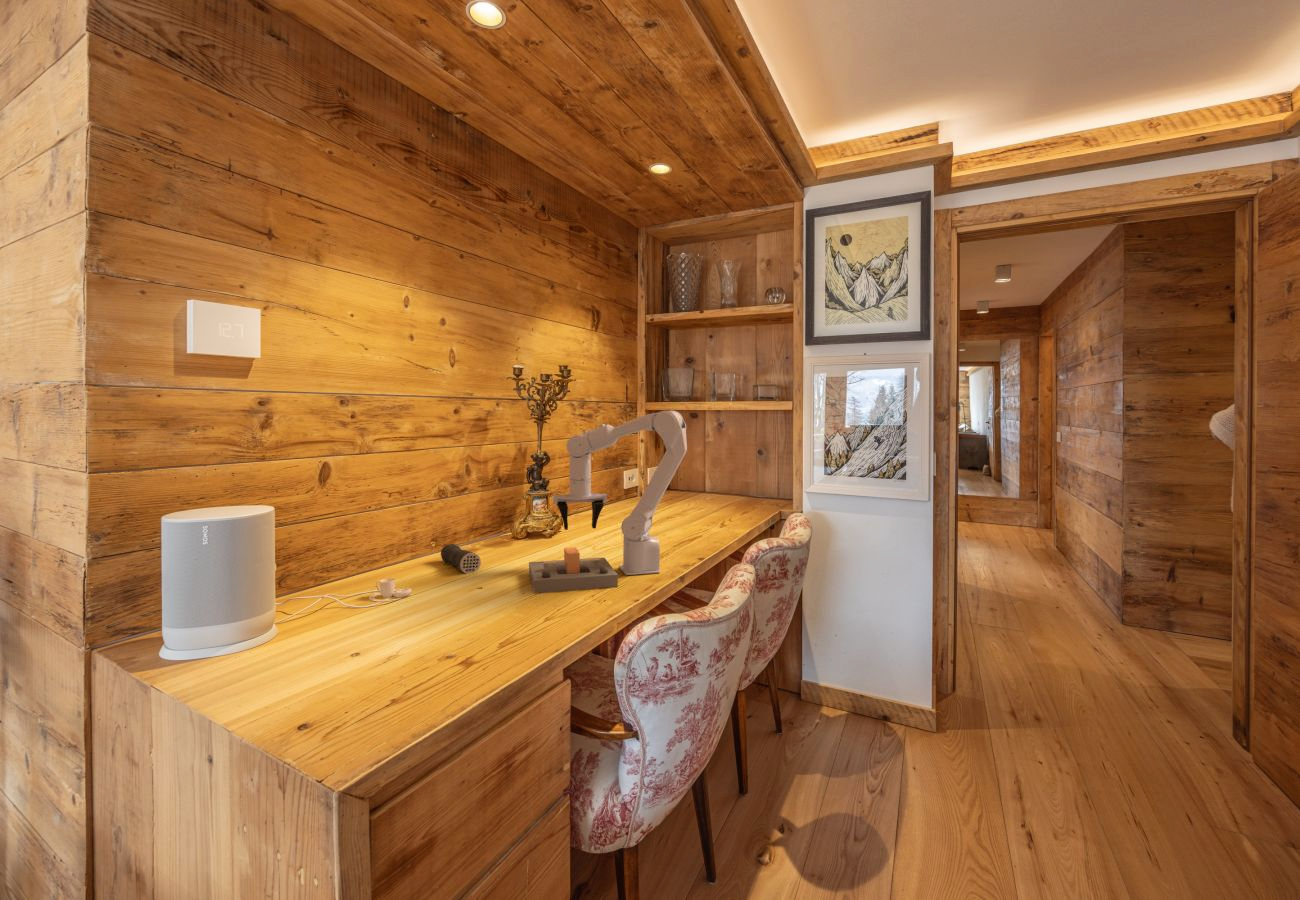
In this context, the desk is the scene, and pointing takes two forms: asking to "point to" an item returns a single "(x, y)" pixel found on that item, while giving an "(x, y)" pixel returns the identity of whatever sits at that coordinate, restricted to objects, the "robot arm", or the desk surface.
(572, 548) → the orange rectangular block
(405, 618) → the desk surface
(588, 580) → the grey slotted tray
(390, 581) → the teacup and saucer
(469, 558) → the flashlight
